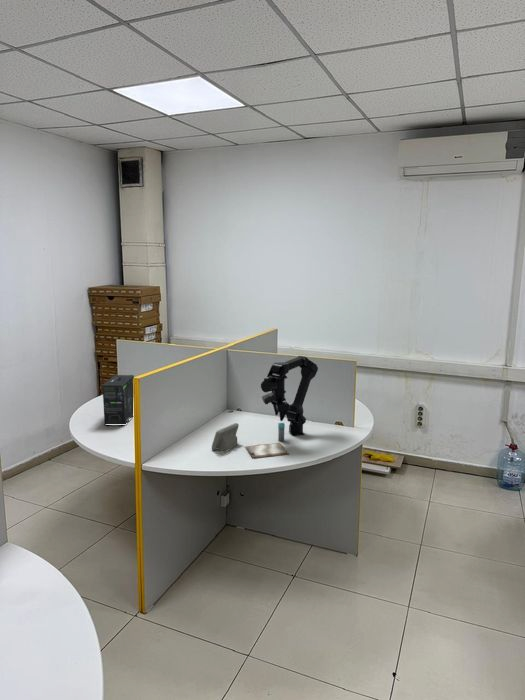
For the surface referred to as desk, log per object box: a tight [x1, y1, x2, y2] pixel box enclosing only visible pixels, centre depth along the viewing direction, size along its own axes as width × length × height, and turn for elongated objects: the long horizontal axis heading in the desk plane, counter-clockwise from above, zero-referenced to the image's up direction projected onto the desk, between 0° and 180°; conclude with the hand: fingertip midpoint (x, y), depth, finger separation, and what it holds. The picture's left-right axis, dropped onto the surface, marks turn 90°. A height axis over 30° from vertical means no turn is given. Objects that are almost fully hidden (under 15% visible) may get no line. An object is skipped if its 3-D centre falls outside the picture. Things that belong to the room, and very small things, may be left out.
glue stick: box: [277, 422, 286, 443], centre depth 245 cm, size 3×3×9 cm
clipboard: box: [244, 442, 290, 459], centre depth 232 cm, size 18×14×2 cm
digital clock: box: [211, 422, 239, 452], centre depth 237 cm, size 16×9×11 cm, turn 133°
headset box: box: [101, 374, 135, 425], centre depth 275 cm, size 22×12×26 cm, turn 179°
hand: (278, 417), depth 244 cm, fingers open, 9 cm apart
